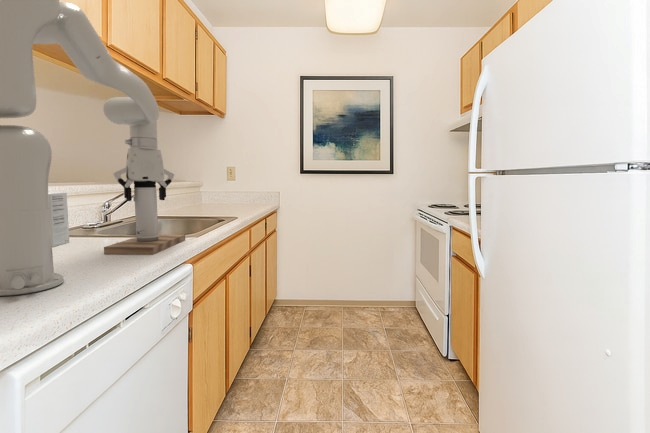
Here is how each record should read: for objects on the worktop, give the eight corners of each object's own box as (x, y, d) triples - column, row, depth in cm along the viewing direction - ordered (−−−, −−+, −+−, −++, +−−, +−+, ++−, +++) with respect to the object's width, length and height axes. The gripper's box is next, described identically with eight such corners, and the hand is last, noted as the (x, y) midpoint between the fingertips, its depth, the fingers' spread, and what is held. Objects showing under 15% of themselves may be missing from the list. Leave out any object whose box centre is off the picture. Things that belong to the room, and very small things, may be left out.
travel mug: (136, 242, 113) (133, 176, 111) (136, 239, 119) (133, 176, 117) (159, 241, 116) (156, 176, 114) (157, 238, 122) (155, 176, 120)
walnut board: (153, 254, 106) (152, 247, 106) (104, 254, 106) (103, 247, 106) (185, 240, 130) (185, 234, 130) (145, 239, 130) (145, 234, 130)
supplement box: (20, 247, 115) (16, 193, 113) (39, 242, 124) (35, 191, 122) (54, 247, 116) (50, 193, 114) (70, 242, 125) (67, 191, 123)
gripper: (115, 141, 106) (117, 201, 107) (176, 146, 117) (178, 200, 119) (109, 143, 112) (111, 200, 113) (168, 147, 123) (170, 199, 124)
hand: (145, 200), depth 116 cm, fingers open, 9 cm apart
